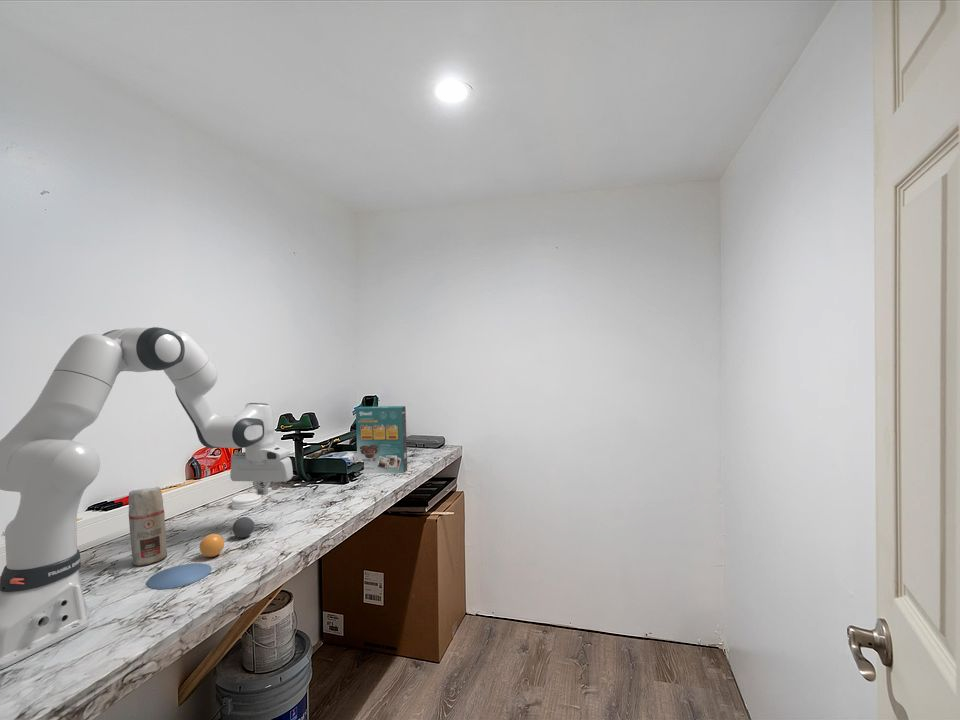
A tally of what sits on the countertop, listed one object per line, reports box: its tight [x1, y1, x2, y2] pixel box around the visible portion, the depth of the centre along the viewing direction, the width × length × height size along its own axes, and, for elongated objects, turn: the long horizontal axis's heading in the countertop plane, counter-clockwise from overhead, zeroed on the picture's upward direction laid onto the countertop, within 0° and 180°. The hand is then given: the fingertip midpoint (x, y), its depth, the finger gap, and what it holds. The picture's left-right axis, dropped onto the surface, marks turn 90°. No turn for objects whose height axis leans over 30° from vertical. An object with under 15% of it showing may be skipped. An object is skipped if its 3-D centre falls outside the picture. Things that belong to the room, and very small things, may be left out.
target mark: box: [146, 562, 212, 590], centre depth 125 cm, size 14×14×1 cm
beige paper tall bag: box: [128, 486, 168, 566], centre depth 135 cm, size 8×8×20 cm
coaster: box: [230, 492, 262, 510], centre depth 183 cm, size 10×10×4 cm
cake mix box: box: [355, 405, 408, 474], centre depth 229 cm, size 22×6×30 cm, turn 82°
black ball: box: [231, 516, 255, 539], centre depth 151 cm, size 6×6×6 cm
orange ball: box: [199, 533, 225, 558], centre depth 137 cm, size 6×6×6 cm
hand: (262, 494), depth 161 cm, fingers closed
